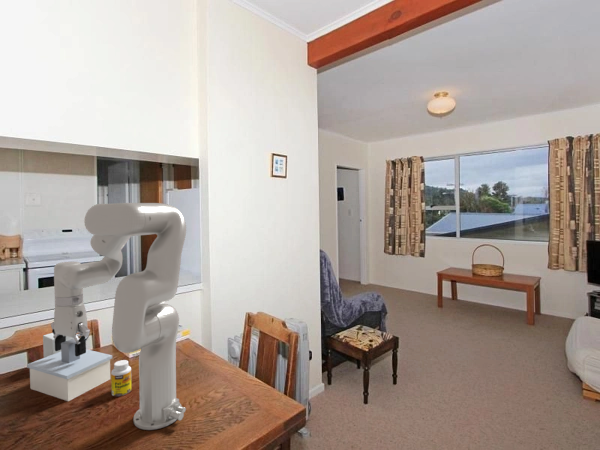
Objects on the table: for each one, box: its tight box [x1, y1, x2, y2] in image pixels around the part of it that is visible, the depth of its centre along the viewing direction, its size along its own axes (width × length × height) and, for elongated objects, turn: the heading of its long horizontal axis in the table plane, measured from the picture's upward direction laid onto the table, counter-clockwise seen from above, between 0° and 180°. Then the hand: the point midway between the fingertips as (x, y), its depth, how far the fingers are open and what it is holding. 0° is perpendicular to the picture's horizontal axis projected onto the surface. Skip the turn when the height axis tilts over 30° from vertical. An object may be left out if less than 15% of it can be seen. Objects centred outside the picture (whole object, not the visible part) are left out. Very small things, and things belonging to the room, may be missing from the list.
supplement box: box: [42, 332, 74, 358], centre depth 122 cm, size 7×7×13 cm
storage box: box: [29, 359, 111, 402], centre depth 109 cm, size 18×14×8 cm
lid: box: [26, 339, 113, 379], centre depth 109 cm, size 19×15×7 cm
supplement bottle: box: [110, 359, 132, 397], centre depth 105 cm, size 6×6×10 cm
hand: (70, 351), depth 109 cm, fingers open, 9 cm apart
